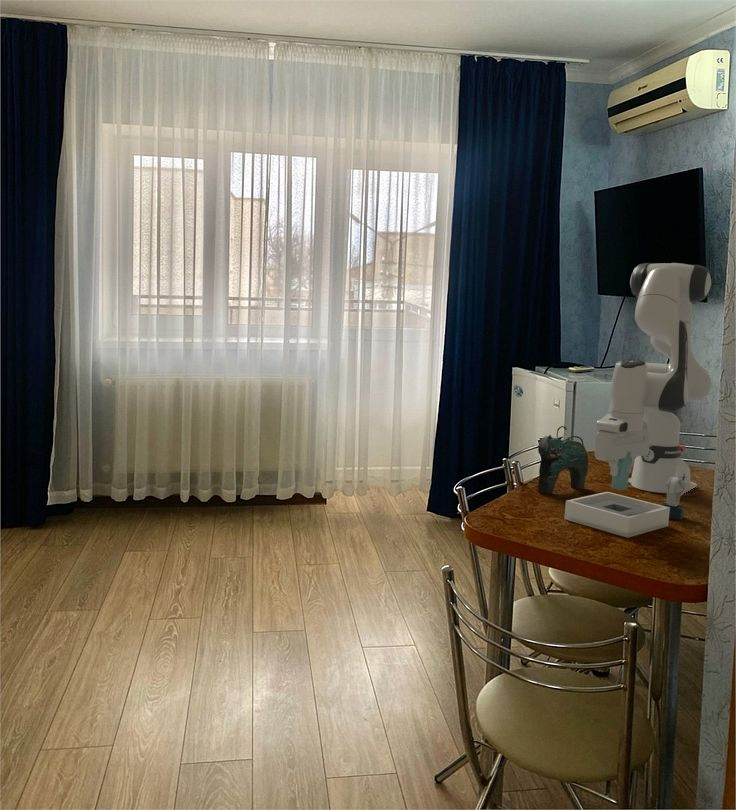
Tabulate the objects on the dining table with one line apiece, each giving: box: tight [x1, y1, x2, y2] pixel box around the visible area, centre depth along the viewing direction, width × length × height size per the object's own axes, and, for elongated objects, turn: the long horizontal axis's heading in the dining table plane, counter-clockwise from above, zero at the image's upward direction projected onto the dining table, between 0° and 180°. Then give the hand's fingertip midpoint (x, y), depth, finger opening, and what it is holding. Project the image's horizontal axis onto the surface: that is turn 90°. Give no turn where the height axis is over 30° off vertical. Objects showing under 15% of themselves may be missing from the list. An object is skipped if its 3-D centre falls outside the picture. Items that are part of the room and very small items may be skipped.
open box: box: [563, 491, 670, 539], centre depth 221 cm, size 19×19×5 cm
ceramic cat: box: [537, 425, 589, 495], centre depth 252 cm, size 20×6×20 cm, turn 126°
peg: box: [610, 452, 631, 491], centre depth 219 cm, size 4×4×10 cm
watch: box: [661, 477, 686, 521], centre depth 229 cm, size 6×8×11 cm
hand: (620, 474), depth 219 cm, fingers closed on peg, 4 cm apart
